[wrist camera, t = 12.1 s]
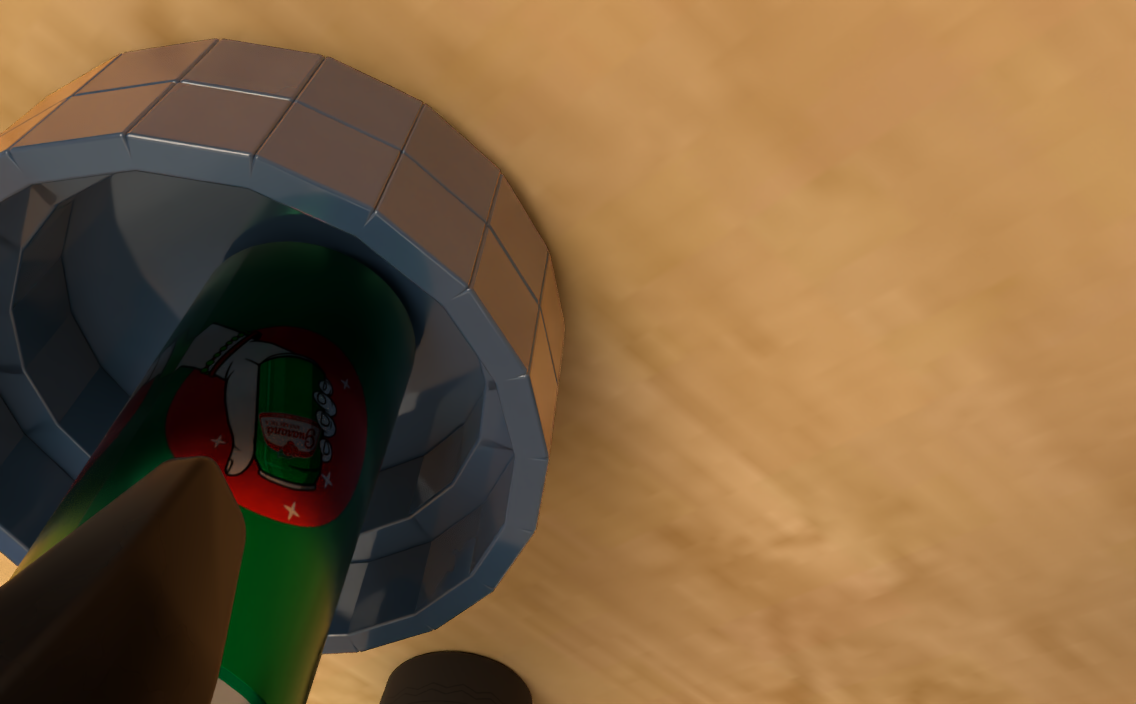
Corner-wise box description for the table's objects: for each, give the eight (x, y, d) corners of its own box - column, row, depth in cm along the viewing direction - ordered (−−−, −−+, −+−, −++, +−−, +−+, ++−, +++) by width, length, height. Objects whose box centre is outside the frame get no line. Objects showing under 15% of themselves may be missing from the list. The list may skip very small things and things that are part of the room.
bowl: (499, -13, 20) (459, 85, 16) (602, 489, 27) (593, 641, 23) (-111, 82, 22) (-285, 190, 18) (144, 523, 29) (64, 668, 25)
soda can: (275, 422, 26) (54, 899, 17) (167, 261, 23) (-174, 719, 14) (454, 376, 25) (327, 866, 15) (361, 201, 22) (135, 660, 13)
